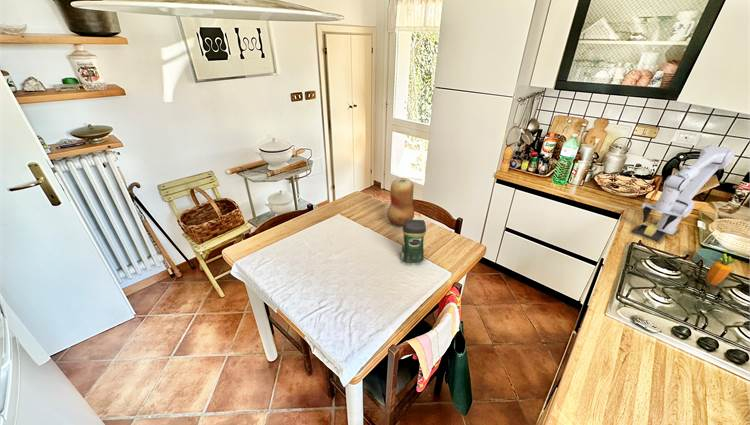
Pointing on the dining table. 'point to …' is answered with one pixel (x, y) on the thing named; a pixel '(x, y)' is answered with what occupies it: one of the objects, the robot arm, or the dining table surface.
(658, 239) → the dark grey flat slab
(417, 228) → the coffee jar
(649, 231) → the butter
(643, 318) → the blueberries
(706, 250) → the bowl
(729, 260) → the carrot
